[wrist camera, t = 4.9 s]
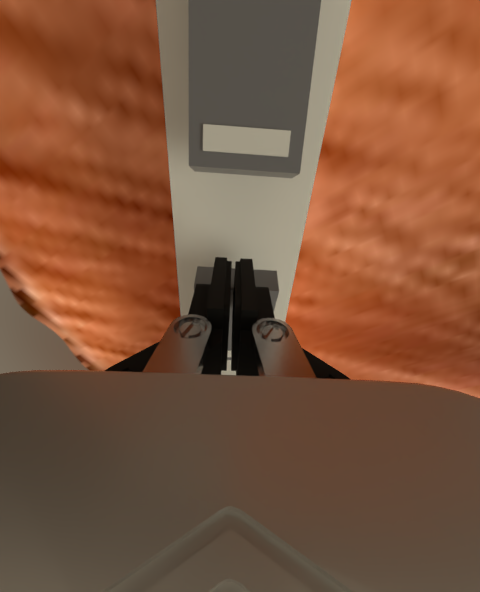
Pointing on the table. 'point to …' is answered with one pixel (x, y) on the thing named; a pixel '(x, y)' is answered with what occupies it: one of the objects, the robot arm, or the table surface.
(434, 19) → the table surface
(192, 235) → the power strip
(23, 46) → the table surface
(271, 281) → the rocker middle
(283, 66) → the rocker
